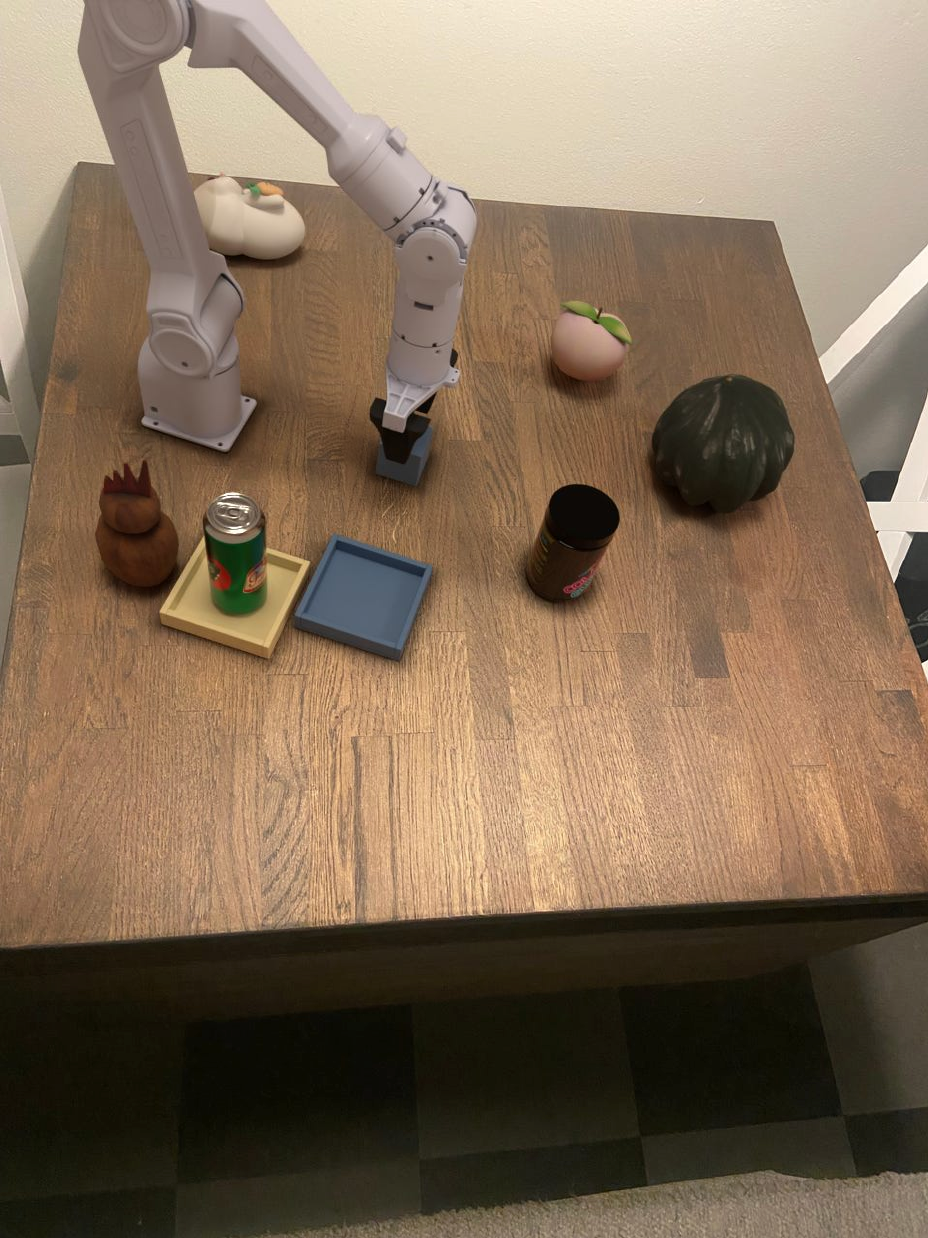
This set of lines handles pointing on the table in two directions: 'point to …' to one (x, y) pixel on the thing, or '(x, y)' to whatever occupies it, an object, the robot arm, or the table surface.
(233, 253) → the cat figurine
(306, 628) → the blue tray
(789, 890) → the table surface
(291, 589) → the cream tray
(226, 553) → the soda can
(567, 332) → the decorative fruit
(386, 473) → the blue block
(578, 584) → the supplement container
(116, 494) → the wooden figurine
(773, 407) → the squash
